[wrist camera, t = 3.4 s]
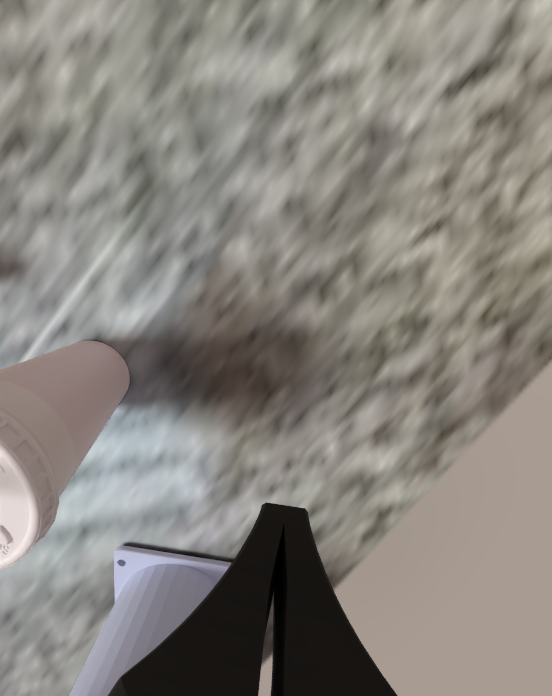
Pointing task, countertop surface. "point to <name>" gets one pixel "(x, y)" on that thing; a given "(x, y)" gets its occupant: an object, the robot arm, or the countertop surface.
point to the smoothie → (50, 433)
